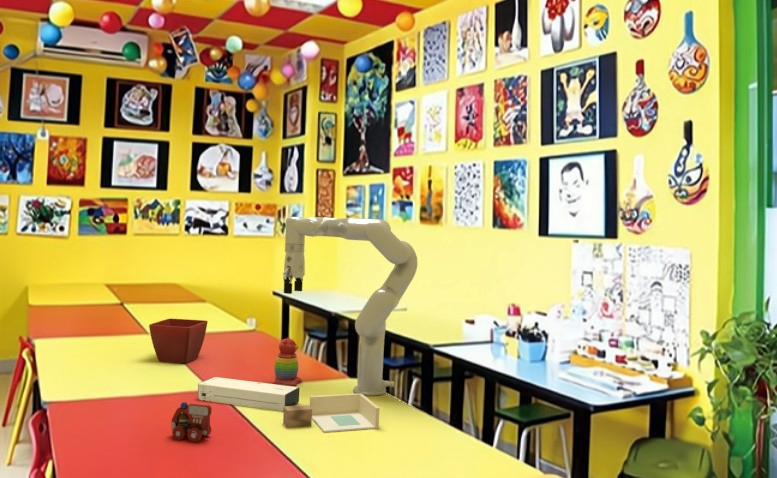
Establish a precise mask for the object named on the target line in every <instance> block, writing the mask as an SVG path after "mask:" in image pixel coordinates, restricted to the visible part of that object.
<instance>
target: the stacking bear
mask: <svg viewBox="0 0 777 478" xmlns="http://www.w3.org/2000/svg"><path fill="white" fill-rule="evenodd" d="M298 348H299V345H298V344H297V343H296V342H295V341H294V339H292V338H290V337H286V338H283V339H281V340H280V341H279V344H278V350H279V353H278V354H277V355H276V358H275V362H274V367H273V368H274V374H275V379H274V384H276V385H284V386H292V387H297V384H301V383H303V379H302V378H301V377H299V376H298V372H299V362H298V361H299V359H298V356H297V353H296V352H297V351H298Z"/></svg>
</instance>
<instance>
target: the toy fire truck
mask: <svg viewBox="0 0 777 478" xmlns="http://www.w3.org/2000/svg"><path fill="white" fill-rule="evenodd" d="M211 415H212V406H211V405H208V404H199V403H189V404H188V403H187V401H184V402H181V403H180V407H178V408H177V409H176V410H175V412H174V414H173V417H172V418H171V430H172V433H171V435H172V437H173V438H174V439H175V440H177V441H182V440H183V439H185V438H186V436H187V438H188V440H189V441H190V442H191V443H197V442H199V441H201V439H202V436H204V437H207V436H210V434H211V433H212V427H211Z"/></svg>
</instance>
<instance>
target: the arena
mask: <svg viewBox="0 0 777 478" xmlns="http://www.w3.org/2000/svg"><path fill="white" fill-rule="evenodd" d="M309 406H310V408H311V409H312V421H313V422H314V423H315V424H316V426H318V428H319V429H320V430H321V431H322V433H324V434H325V433H338V432H348V431H349V432H351V431H363V430H365V431H366V430H374V429H375V430H376V429H378V430H379V425H380V407H379V406H378V405H377V404H375V403H374V402H373V401H372V400H370V399H369V397H367V396H366V395H363V394H362V393H343V394H327V395H325V394H324V395H310V396H309Z"/></svg>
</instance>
